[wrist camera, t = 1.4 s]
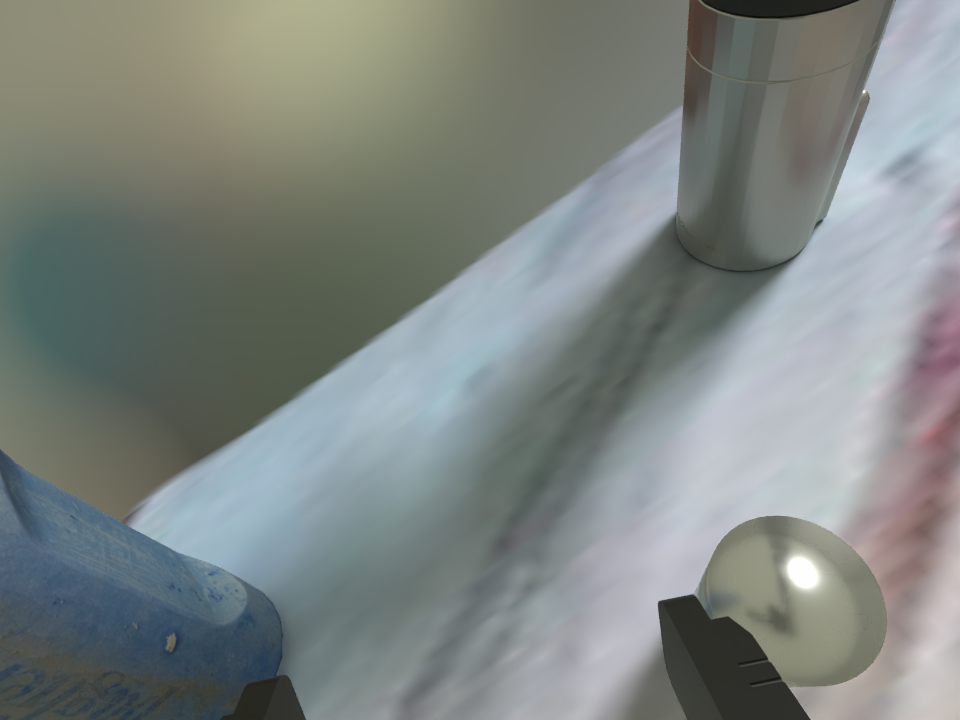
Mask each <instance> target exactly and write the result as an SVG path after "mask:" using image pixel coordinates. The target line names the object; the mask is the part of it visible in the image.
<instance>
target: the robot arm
mask: <svg viewBox="0 0 960 720" xmlns="http://www.w3.org/2000/svg"><path fill="white" fill-rule="evenodd" d="M895 1H896V0H689V14H688V30H687V51H686V66H685V67H686V68H685V84H684V99H683V116H682V132H681V149H680V165H679V182H678V197H677V214H676V231H677V236H678V238H679V240H680V242H681V244H682V245H683V247H684V248H685V249H686V250H687V251H688V252H689V253H690V254H691V255H693V256H694V257H695V258H697V259H698V260H700V261H702V262H704V263H706V264H708V265H711V266H715V267H718V268H722V269H727V270H735V271H751V270H759V269H764V268H769V267H772V266H775V265H778V264H781V263H783V262H785V261H787V260H788V259H790V258H792V257H794V256H795V255H796V254H797V253H798V252H800V251H801V250H802V249H803V248H804V247H805V245H806V244H807V242H808V241H809V239H810V238H811V235H812V232H813V230H814V227H815V224H816V223H817V222H818V221H820V220H822V219H823V218H825V217H826V216H827V213H828V210H829V208H830V205H831V202H832V200H833V197H834V194H835V192H836V189H837V186H838V184H839V181H840V178H841V176H842V173H843V170H844V168H845V165H846V162H847V160H848V157H849V154H850V152H851V149H852V146H853V144H854V141H855V138H856V136H857V133H858V130H859V128H860V125H861V122H862V120H863V117H864V114H865V112H866V109H867V106H868V104H869V100H870V97H869V93H868V92H867V91H866V90H865V86H866V83H867V80H868V77H869V75H870V72H871V69H872V66H873V64H874V61H875V58H876V55H877V52H878V50H879V47H880V44H881V41H882V39H883V36H884V33H885V30H886V27H887V24H888V21H889V18H890V15H891V13H892V10H893V7H894V4H895ZM658 611H659V619H660V627H661V636H662V644H663V652H664V659H665V664H666V667H667V671H668V674H669V678H670V680H671V683H672V686H673V688H674V691H675V693H676V695H677V697H678V700H679V702H680V704H681V706H682V708H683V711H684V713H685V715H686V717H687V720H810V718H809V717H808V715H807V714H806V712H805V711H804V709H803V708H802V707H801V705H800V704H799V702H798V701H797V699H796V698H795V696H794V695H793V693H792V692H791V690H790V689H789V688H788V686H787V685H786V683H785V682H783V681H782V678H781V676H780V674H779V673H778V672H777V670H776V669H775V667H774V666H773V664H772V663H771V662H769V660H768V657H767V656H766V654H765V653H764V651H763V650H762V648H761V647H760V645H759V644H758V642H757V641H756V639H755V638H754V637H753V635H752V634H751V633H750V632H748V631H747V630H746V629H744V628H743V627H742V626H741V625H739V624H738V623H737V622H735V621H734V620H733V619H731V618H730V617H729V616H726V617H721V618H716V619H710V618H709V616H708V614H707V613H706V611H705V610H704V608H703V606H702V605H701V603H700V601H699V600H698V598H697V597H696V596H695V595H693V594H692V595H687V596H682V597H677V598H672V599H667V600H662V601H659V602H658ZM220 720H306V718H305V716H304V713H303V711H302V708H301V706H300V703H299V701H298V698H297V696H296V693H295V691H294V688H293V686H292V683H291V681H290V679H289V678H288V676H286V675H282V676H277V677H272V678H267V679H262V680H257V681H252V682H249V683H248V684H247V685H246V686H245V688H244V690H243V692H242V694H241V697H240V699H239V702H238V704H237V706H236V709H235V711H234V713H233V714H230V715H225V716H222V718H221V719H220Z"/></svg>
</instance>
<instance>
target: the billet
mask: <svg viewBox="0 0 960 720" xmlns="http://www.w3.org/2000/svg"><path fill="white" fill-rule="evenodd" d="M694 595H695V596H696V597H697V598H698V600H699V601H700V603H701V605H702V606H703V608H704V610H705V611H706V613H707V614H708V616H709V618H710V619H716V618H721V617H726V616H729V617H730V618H731V619H733V620H734V621H735V622H737V623H738V624H739V625H741V626H742V627H743V628H744V629H746V630H747V631H748V632H750V633H751V634H752V635H753V637H754V638H755V639H756V641H757V642H758V644H759V645H760V647H761V648H762V650H763V651H764V653H765V654H766V656H767V657H768V660H769V662H771V663H772V664H773V666H774V667H775V669H776V670H777V672H778V673H779V674H780V676H781V678H782V681H783V682H785V683H786V685H787V686H788V687H811V686H828V685H836V684H839V683H843V682H846V681H848V680H850V679H853V678H855V677H857V676H858V675H859V674H861V673H862V672H864V671H865V670H866V669H867V668H868V667H869V666H870V665H871V664H872V663H873V662H874V660H875V659H876V657H877V656H878V654H879V652H880V650H881V648H882V646H883V643H884V639H885V635H886V626H887V616H886V607H885V603H884V598H883V595H882V593H881V590H880V587H879V585H878V583H877V581H876V579H875V577H874V575H873V573H872V572H871V570H870V569H869V567H868V566H867V564H866V563H865V562H864V561H863V559H862V558H861V557H860V556H859V555H858V554H857V553H856V552H855V551H854V550H853V549H852V547H850V546H849V545H848V544H847V543H846V542H844V541H843V540H842V539H841V538H839V537H838V536H836V535H835V534H833V533H832V532H830V531H828V530H826V529H825V528H823V527H821V526H818V525H816V524H814V523H811V522H809V521H805V520H802V519H798V518H793V517H787V516H766V517H760V518H755V519H752V520H749V521H746V522H744V523H742V524H740V525H738V526H737V527H735V528H734V529H733V530H731V531H730V532H729V533H728V534H727V535H726V536H725V537H724V538H723V539H722V540H721V542H720V543H719V544H718V546H717V548H716V550H715V551H714V553H713V555H712V558H711V560H710V562H709V564H708V566H707V568H706V570H705V572H704V574H703V576H702V578H701V581H700V583H699V585H698V587H697V589H696V591H695V593H694Z"/></svg>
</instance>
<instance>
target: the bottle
mask: <svg viewBox="0 0 960 720" xmlns="http://www.w3.org/2000/svg"><path fill="white" fill-rule="evenodd" d="M282 637H283V634H282V629H281V621H280V617H279V615H278V613H277V611H276V609H275V607H274V605H273V603H272V602H271V601H270V600H269V599H268V598H267V597H266V596H265V595H264V594H263V593H262V592H261V591H259V590H258V589H256V588H254V587H253V586H251V585H249V584H248V583H246V582H245V581H243V580H241V579H240V578H238V577H236V576H235V575H233V574H231V573H229V572H227V571H225V570H223V569H221V568H219V567H217V566H215V565H212V564H210V563H207V562H204V561H201V560H198V559H195V558H192V557H189V556H186V555H183V554H180V553H177V552H175V551H173V550H172V549H170V548H168V547H167V546H165V545H163V544H160V543H158V542H157V541H155V540H153V539H151V538H149V537H147V536H146V535H144V534H142V533H140V532H138V531H136V530H134V529H132V528H130V527H129V526H127V525H125V524H124V523H122V522H120V521H119V520H117V519H115V518H113V517H111V516H109V515H107V514H105V513H103V512H102V511H100V510H98V509H96V508H95V507H93V506H91V505H89V504H87V503H85V502H84V501H82V500H80V499H78V498H77V497H75V496H73V495H70V494H69V493H66V492H64V491H62V490H61V489H59V488H57V487H56V486H54V485H53V484H51V483H49V482H48V481H46V480H44V479H41V478H39V477H37V476H35V475H34V474H32V473H31V472H29V471H28V470H26V469H24V468H23V467H21V466H19V465H18V464H16V463H15V462H14V461H13V460H12V459H11V458H10V457H8V456H7V455H6V454H5V453H4V452H3V451H1V450H0V720H220V719H221V718H222V716H225V715H230V714H233V713H234V711H235V709H236V706H237V704H238V702H239V699H240V697H241V694H242V692H243V690H244V688H245V686H246V685H247V684H248V683H249V682H252V681H257V680H262V679H267V678H272V677H276V674H277V671H278V668H279V665H280V662H281V659H282Z"/></svg>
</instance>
